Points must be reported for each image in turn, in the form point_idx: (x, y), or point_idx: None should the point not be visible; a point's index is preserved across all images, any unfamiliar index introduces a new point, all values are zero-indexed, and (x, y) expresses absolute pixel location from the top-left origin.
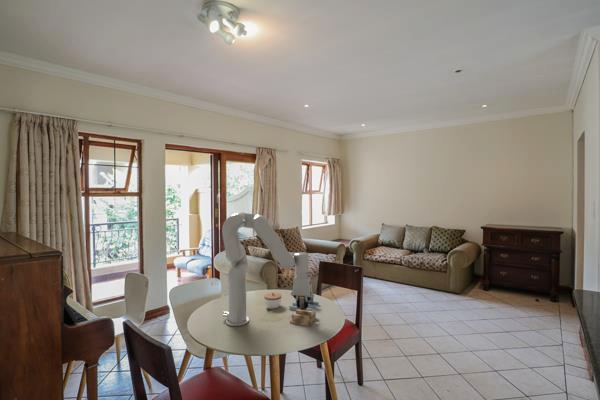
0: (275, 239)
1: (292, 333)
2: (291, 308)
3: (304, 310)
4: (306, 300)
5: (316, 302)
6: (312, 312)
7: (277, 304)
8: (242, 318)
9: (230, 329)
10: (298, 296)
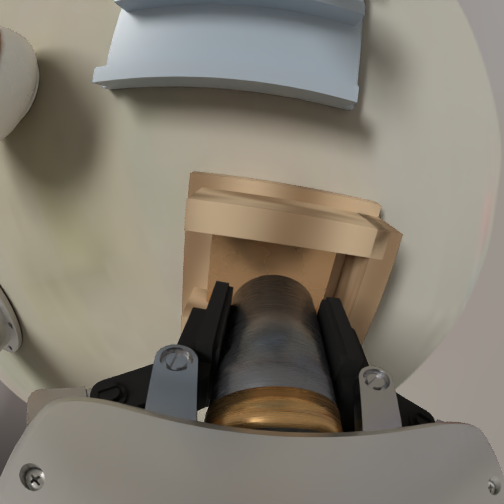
0: None
1: None
2: (121, 82)
3: (282, 221)
4: (343, 427)
5: None
6: (372, 259)
7: (14, 112)
8: (2, 343)
9: (21, 364)
10: (177, 403)
